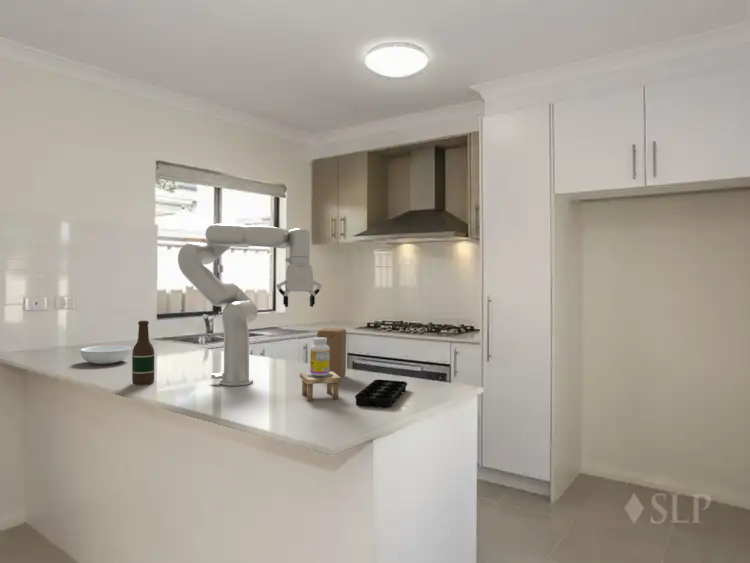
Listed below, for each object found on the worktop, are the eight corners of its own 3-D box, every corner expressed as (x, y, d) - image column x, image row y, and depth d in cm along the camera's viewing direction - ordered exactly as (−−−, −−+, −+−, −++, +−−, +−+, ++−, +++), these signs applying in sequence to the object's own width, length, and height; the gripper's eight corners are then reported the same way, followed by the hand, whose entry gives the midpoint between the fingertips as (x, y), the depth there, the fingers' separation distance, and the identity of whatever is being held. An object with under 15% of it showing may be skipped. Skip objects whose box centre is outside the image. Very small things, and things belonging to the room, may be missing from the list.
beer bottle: (158, 382, 206) (158, 320, 205) (142, 386, 199) (142, 322, 198) (144, 380, 209) (144, 319, 209) (127, 384, 202) (127, 321, 202)
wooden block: (339, 380, 213) (340, 331, 213) (315, 379, 215) (316, 330, 215) (346, 376, 223) (346, 328, 223) (323, 374, 225) (323, 327, 225)
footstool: (306, 402, 178) (306, 379, 178) (299, 394, 190) (299, 372, 189) (341, 399, 182) (341, 377, 182) (332, 391, 193) (332, 370, 193)
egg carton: (406, 389, 201) (407, 379, 201) (408, 410, 171) (408, 398, 171) (360, 388, 201) (360, 378, 201) (353, 409, 172) (354, 397, 171)
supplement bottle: (310, 372, 189) (310, 336, 188) (329, 372, 189) (329, 336, 189) (309, 376, 182) (310, 339, 182) (329, 376, 183) (329, 339, 182)
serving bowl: (117, 367, 236) (117, 352, 236) (70, 366, 236) (70, 351, 236) (138, 359, 257) (138, 345, 257) (95, 359, 257) (95, 344, 257)
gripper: (278, 261, 195) (277, 307, 196) (324, 261, 201) (323, 307, 201) (275, 261, 202) (274, 306, 203) (319, 262, 208) (319, 305, 208)
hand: (299, 306), depth 202 cm, fingers open, 9 cm apart
